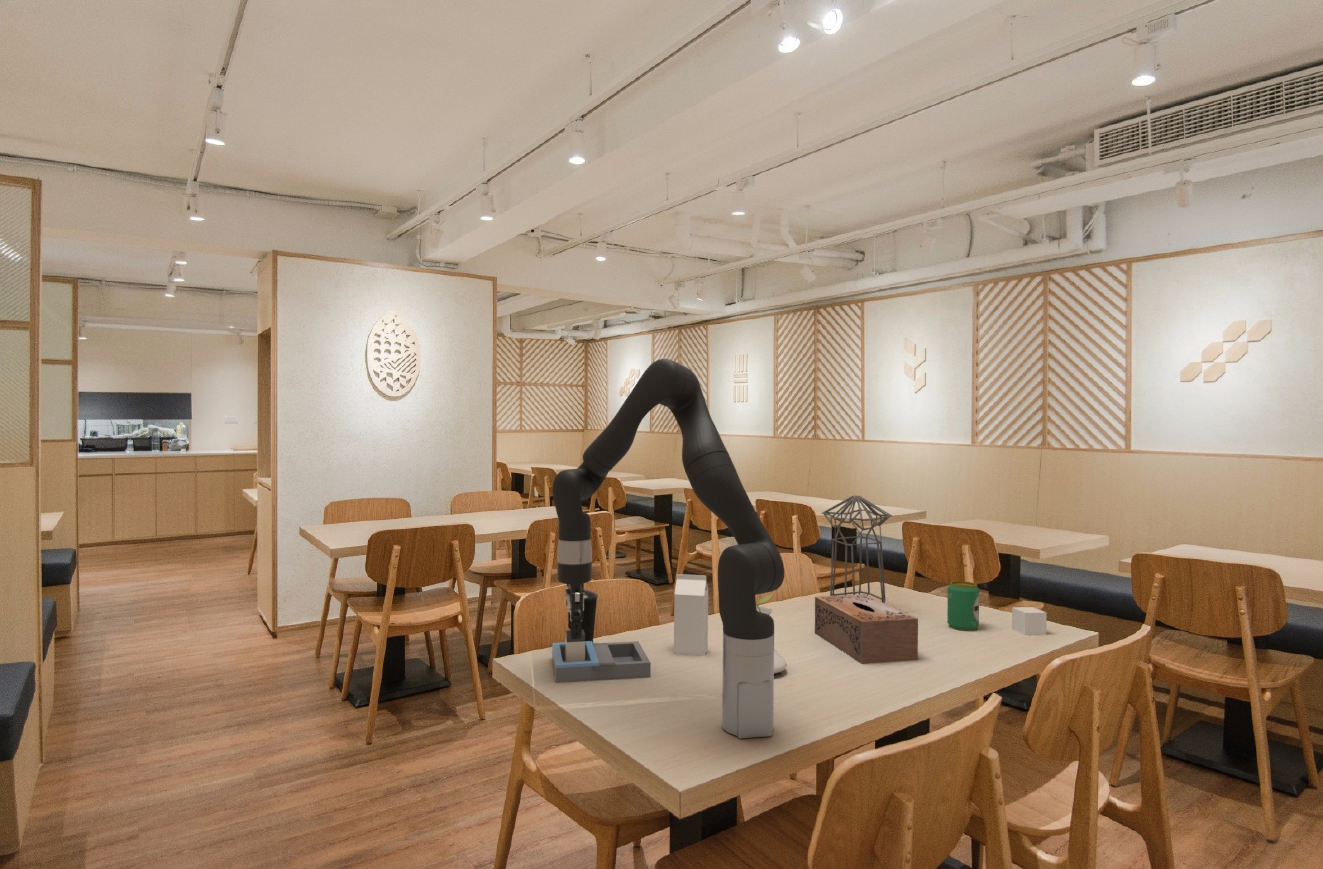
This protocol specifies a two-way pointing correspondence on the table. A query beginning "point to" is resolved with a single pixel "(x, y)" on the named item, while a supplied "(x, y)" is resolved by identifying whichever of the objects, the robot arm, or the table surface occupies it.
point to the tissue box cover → (866, 628)
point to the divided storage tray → (602, 662)
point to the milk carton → (691, 615)
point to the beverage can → (963, 606)
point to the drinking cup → (589, 613)
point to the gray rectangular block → (574, 648)
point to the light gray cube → (1029, 620)
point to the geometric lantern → (851, 502)
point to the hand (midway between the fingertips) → (574, 633)
